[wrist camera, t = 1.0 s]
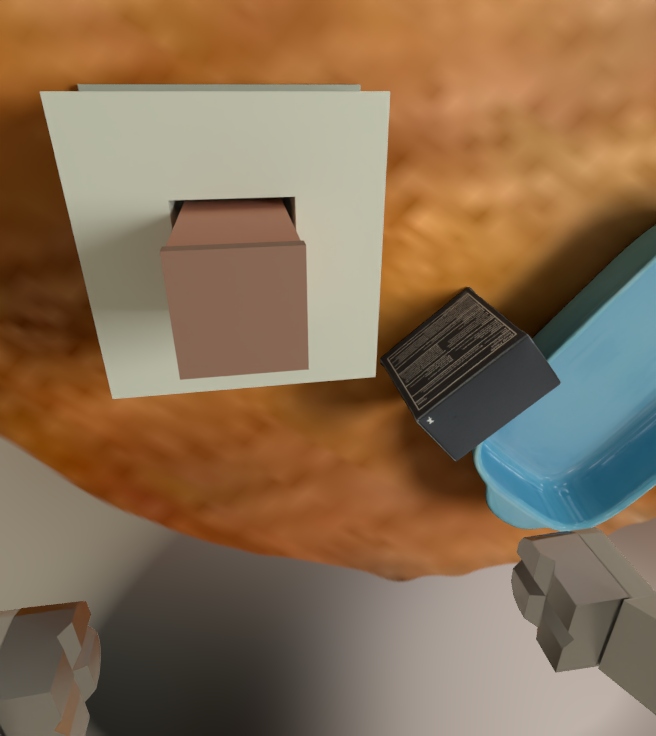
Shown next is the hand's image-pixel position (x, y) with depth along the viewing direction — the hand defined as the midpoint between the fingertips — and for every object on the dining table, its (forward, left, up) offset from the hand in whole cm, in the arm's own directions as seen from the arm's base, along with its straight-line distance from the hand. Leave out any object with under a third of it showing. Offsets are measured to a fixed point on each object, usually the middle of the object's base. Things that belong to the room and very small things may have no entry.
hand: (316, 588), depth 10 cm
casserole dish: (+16, +35, -35) cm, 52 cm away
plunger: (+1, -1, -27) cm, 27 cm away
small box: (+13, +17, -35) cm, 41 cm away
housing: (+1, -1, -34) cm, 34 cm away
